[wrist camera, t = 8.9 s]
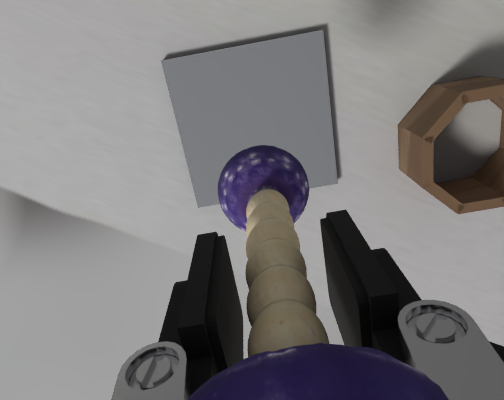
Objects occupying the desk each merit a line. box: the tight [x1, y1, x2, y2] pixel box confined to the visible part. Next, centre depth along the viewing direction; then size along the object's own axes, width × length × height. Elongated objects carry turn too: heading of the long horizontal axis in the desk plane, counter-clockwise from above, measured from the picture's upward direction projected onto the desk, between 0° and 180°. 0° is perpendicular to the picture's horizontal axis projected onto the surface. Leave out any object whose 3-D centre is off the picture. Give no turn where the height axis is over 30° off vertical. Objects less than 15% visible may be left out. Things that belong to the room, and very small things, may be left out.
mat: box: [161, 30, 338, 207], centre depth 30 cm, size 12×12×1 cm
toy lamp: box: [187, 145, 449, 400], centre depth 10 cm, size 5×5×17 cm
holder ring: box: [398, 76, 504, 214], centre depth 29 cm, size 9×9×4 cm
